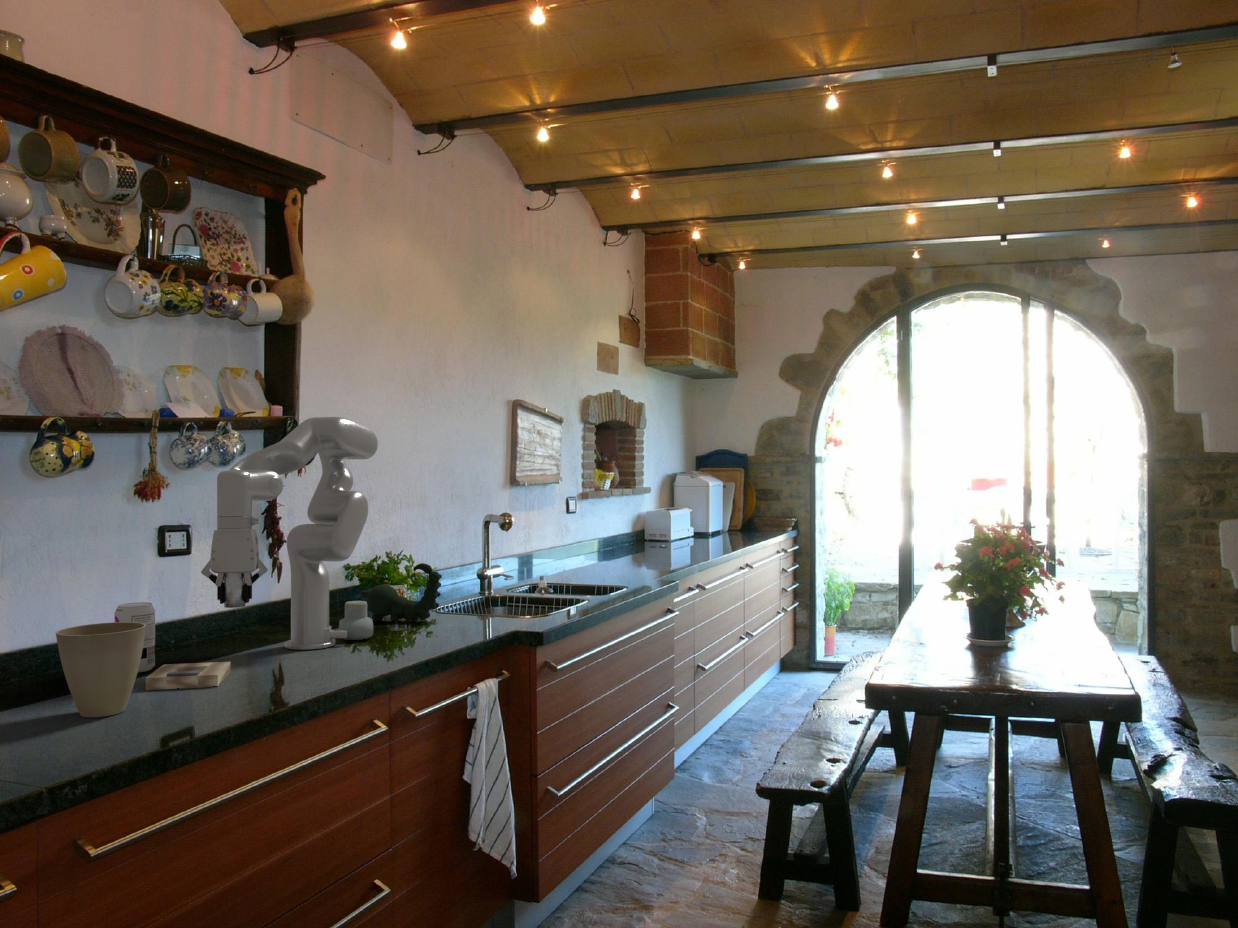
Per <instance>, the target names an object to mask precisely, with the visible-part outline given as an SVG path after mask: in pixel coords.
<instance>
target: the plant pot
mask: <svg viewBox="0 0 1238 928" xmlns="http://www.w3.org/2000/svg"><path fill="white" fill-rule="evenodd" d="M145 630H146V624H144V623H137V622H115V621H114V622H100V623H89V624H83V625H76V626H71V627H66V628H62V629H60V630H59V629H58V630H57V631H55V636H56V638H55V639H56V642H57V648H58V649H57V650H58V654H59V658H60V663H61V666H62V669H63V673H64V677H65V680H66V683H67V686H68V687H67V688H68V689H69V692H70V694H71V697H72V700H73V703H74V704H75V707H76V708H77V712H78V713H79V715H80V716H81V717H83V718H102V717H110V716H115V715H117V714H121V713H122V712H125V710H126V708H127V705H128V704H129V700H130V698H131V694H132V693H133V688H134V685H135V682H136V679H137V676H138V673H137V672H138V668H139V664H140V660H141V655H142V650H143V644H144V637H145Z"/></svg>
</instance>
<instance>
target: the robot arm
mask: <svg viewBox="0 0 1238 928" xmlns="http://www.w3.org/2000/svg"><path fill="white" fill-rule="evenodd" d="M378 444H379V442H378V437H377V436H376V433H375V432H374V431H373V430H372V429H371V428H369V427H367V426H365V425H362V424H360V423H357V422H355V421H353V420H350V419H348V418H344V417H341V416H323V417H322V416H317V417H316V416H315V417H309V418H307V419H305V420H303V421H302V422H301V423H300V424H298V425H297V426H296V427H295V428H293V429H292V431H290V432H289V433H288V434H287V435H286V436H284V437H283V438H282V439H281V440H280V441H278V442H276V443H275V444H271V445H269V446H267V447H264V448H262V449H260V450H258V451H255V452H253V453H251V454H249V455H247V456H245V457H243V458H241V459H240V460H239V461H238V462H236V463H235V464H234V465H232V467H230V468H229V469H228V470H223V471H219V473H217V477H216V511H217V512H216V515H217V516H216V529H215V530H213V535H212V540H211V548H210V549H211V550H210V557H209V558H210V559H209V561H208V562H207V563H206V565H205V566H203V568H202V570H201V571H200V573H201V574H202V575H203V576H204V577H206V578H208V579H209V581H211V582H212V583H213V584H214V585H215V586H216V589H217V590H216V592H217V593H216V596H217V601H219V604H220V605H224V573H235V572H241V573H244V577H245V581H246V583H245V586H244V603H246V604H249V602H250V600H252V599H253V584H254V583H255V582H256V581H257V580H259V578H261V577H262V576H263V575H265V574H266V573H267V572H268V570H269V569H268V567H267V566H266V565H265V564H264V562H262V560H261V559H260V552H259V540H258V538H259V537H258V534H257V530H256V528H253V527H254V526H255V525H259V524H260V523H259V522H260V521H259V520H260V519H259V518H255V517H253V502H268V501H272V500H276V498H278V497H279V496H280V495H281V493H282V492H283V490H284V489H283V488H284V482H283V479H282V477H281V475H286V474H291V473H293V472H297V471H298V470H300V469H302V468H304V466H305V465H307V464H308V463H309V462H310V461H311V460H312V459H313V458H315V456H316V455H318V456H319V461H320V463H321V469H322V471H321V477H320V479H319V482H318V484H317V486H316V489H315V491H314V493H313V495H312V497H311V499H310V502H309V504H308V508H307V511H306V512H307V517H308V518H307V519H309V521H310V522H311V523H304V524H298V525H296V526H294V527H293V528H292V529H291V530H289V532H288V534H287V537H286V550H287V556H288V559H289V567H290V639H289V640H287V641H285V642H284V648H285V649H289V650H297V651H305V650H308V651H309V650H318V649H319V650H321V649H325V648H327V649H328V648H329V647H333V646H335V645H336V639H342V638H347V630H345V631H343V630H339V629H338V630H335V629H332V625H330V576H329V571H328V569H327V567H326V565H325V564H324V562H344V561H346V560H348V559H349V558H350V557H351V555H352V554H353V553H354V551H355V548H356V546H357V543H358V541H359V538H360V536H361V535H362V532H363V529H364V527H365V524H366V522H367V519H368V517H369V504H368V500H367V497H366V496H365V494H363V493H362V492H360V491H358V490H353V489H352V488H353V484H354V477H353V474H352V472H351V470H350V468H349V467H348V465H347V462H346V460H368V459H371V458H372V457H374V455H376V453H377V451H378V447H379V445H378ZM258 569H259V571H257V572H255V571H256V570H258ZM253 572H255V573H254V574H253ZM216 574H217V575H216Z"/></svg>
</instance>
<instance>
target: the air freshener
mask: <svg viewBox="0 0 1238 928" xmlns="http://www.w3.org/2000/svg"><path fill="white" fill-rule="evenodd" d="M373 621H374V620H373V619H372V617H368V606H367V600H366V601H365V600H352V601H346V602H345V603H344V618H341V619H339V622H338V630H343V631H345V630H347V638H341V639H343V640H344V641H347V640H357V641H364V640H363V639H365V640H368V639H369V638H371V637H372V636H373V635H374V622H373Z"/></svg>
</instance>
